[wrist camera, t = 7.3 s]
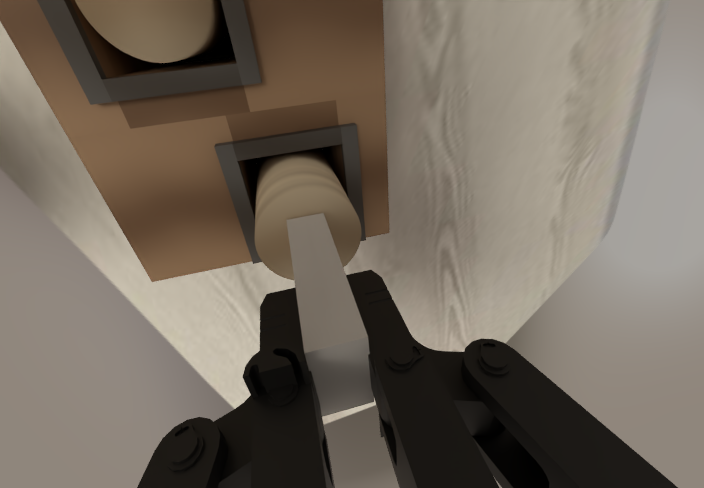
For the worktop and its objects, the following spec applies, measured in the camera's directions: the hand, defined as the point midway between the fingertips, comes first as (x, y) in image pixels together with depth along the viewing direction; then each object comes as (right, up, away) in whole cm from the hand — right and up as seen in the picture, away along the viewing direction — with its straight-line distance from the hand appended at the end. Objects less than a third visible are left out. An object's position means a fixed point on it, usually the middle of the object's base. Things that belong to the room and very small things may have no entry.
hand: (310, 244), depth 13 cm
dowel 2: (-2, +5, +7) cm, 9 cm away
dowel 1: (-8, +13, +5) cm, 16 cm away
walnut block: (-5, +10, +8) cm, 14 cm away
